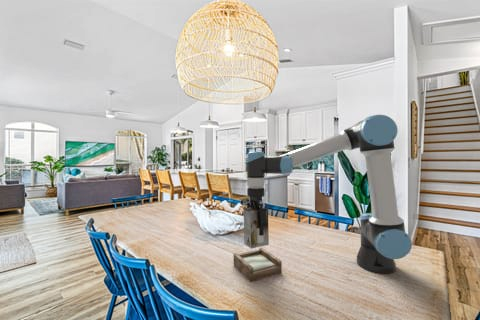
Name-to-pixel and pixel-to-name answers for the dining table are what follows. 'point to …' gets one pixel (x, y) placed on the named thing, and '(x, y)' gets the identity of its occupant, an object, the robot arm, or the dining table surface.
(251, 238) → the coffee box
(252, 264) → the wooden tray
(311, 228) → the dining table surface
